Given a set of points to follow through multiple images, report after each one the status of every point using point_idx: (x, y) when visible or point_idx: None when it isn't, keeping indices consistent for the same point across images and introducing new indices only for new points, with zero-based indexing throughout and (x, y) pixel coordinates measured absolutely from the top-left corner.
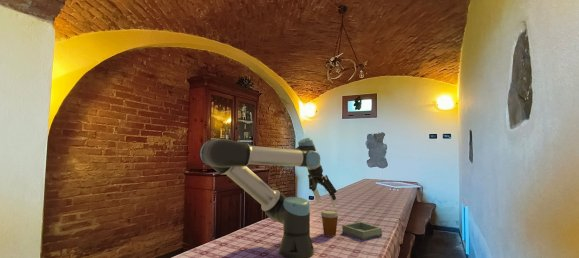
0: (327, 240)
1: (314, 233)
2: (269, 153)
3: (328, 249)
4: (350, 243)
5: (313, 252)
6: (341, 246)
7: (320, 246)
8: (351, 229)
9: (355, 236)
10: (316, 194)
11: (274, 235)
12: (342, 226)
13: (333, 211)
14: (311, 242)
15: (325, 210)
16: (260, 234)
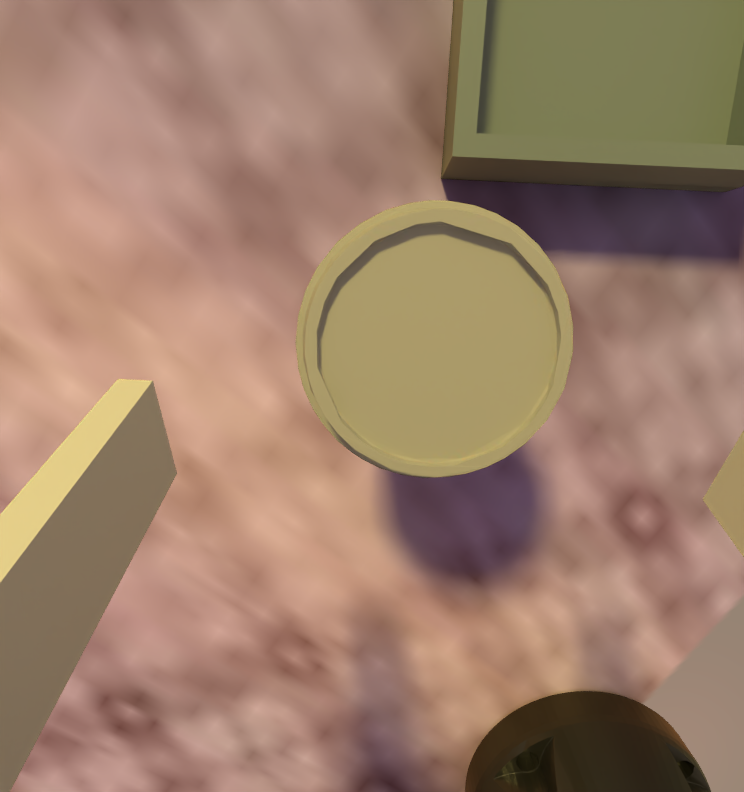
0: (521, 460)
1: (305, 423)
2: None
3: (672, 589)
4: (700, 357)
5: (674, 732)
6: (696, 470)
7: (589, 594)
8: (602, 167)
9: (632, 185)
10: (69, 606)
11: (175, 711)
12: (452, 161)
13: (423, 247)
14: (689, 789)
15: (317, 335)
16: (99, 775)
